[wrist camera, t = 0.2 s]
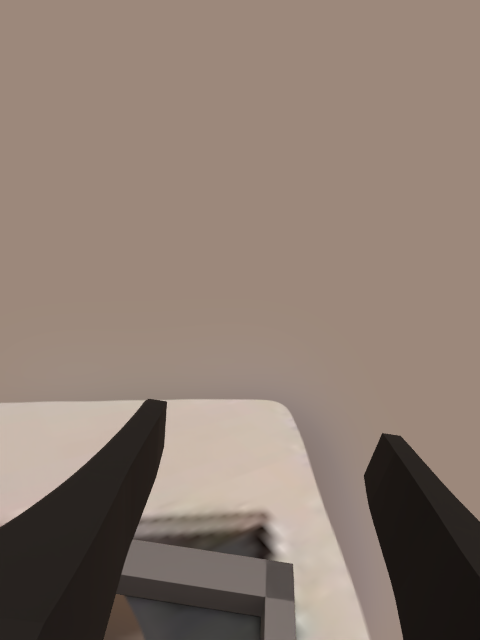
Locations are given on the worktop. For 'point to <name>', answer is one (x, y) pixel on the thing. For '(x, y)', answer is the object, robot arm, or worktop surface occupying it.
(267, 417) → the worktop surface
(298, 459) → the worktop surface
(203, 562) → the chassis bay
